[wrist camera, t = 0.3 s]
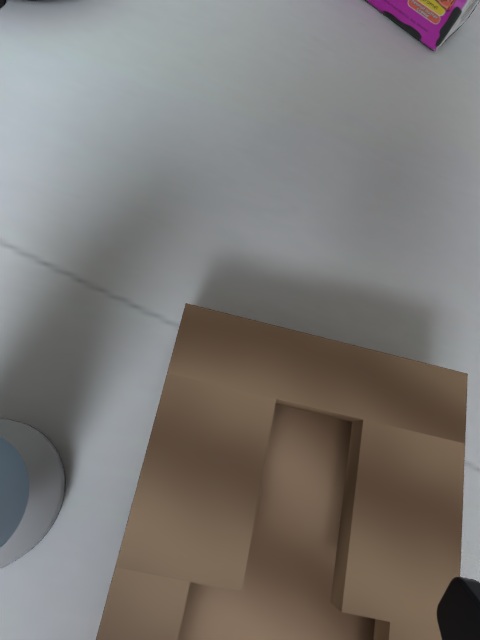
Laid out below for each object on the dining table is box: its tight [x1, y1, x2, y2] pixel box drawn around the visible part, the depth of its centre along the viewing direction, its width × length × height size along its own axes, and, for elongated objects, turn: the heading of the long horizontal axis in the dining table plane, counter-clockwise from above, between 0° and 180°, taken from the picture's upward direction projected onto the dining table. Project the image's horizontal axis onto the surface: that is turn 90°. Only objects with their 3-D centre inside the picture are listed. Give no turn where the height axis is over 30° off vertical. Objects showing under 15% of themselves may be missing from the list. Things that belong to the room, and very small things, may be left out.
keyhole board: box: [96, 303, 468, 640], centre depth 18 cm, size 20×13×4 cm, turn 168°
